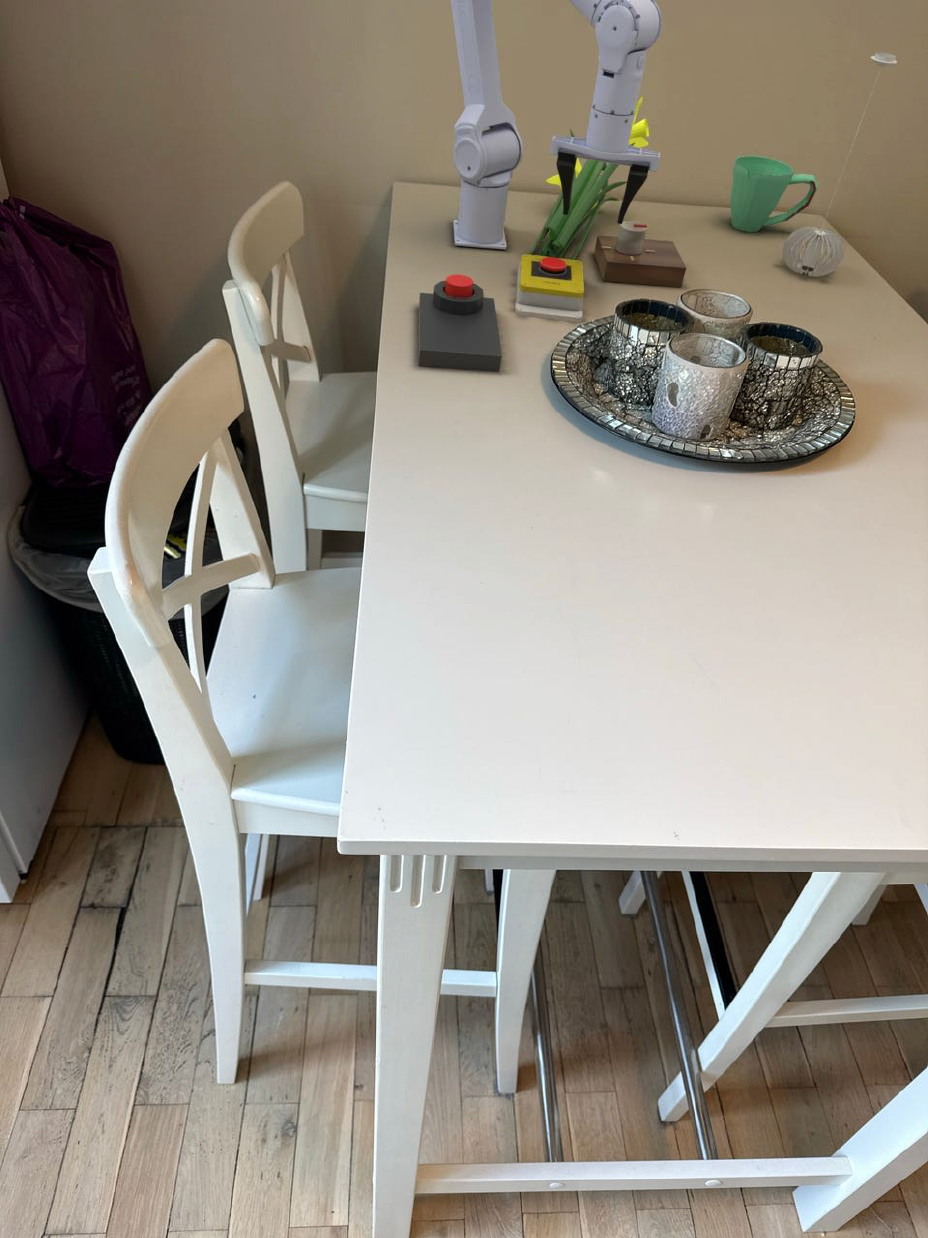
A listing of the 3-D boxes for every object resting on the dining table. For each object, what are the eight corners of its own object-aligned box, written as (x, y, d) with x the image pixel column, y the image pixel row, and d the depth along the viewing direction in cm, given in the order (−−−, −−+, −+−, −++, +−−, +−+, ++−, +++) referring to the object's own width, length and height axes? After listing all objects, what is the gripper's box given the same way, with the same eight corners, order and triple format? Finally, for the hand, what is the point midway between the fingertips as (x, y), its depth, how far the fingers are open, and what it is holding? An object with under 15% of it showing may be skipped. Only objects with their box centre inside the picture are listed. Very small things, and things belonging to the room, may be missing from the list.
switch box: (418, 305, 120) (420, 276, 117) (491, 310, 121) (495, 282, 118) (418, 366, 108) (420, 335, 105) (499, 371, 109) (503, 341, 106)
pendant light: (828, 262, 145) (910, 51, 125) (840, 285, 139) (928, 67, 118) (773, 255, 145) (844, 42, 125) (782, 278, 139) (859, 57, 118)
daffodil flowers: (481, 250, 137) (557, 133, 154) (552, 312, 141) (618, 190, 158) (541, 176, 123) (617, 55, 140) (618, 247, 127) (683, 121, 144)
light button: (444, 286, 117) (445, 273, 115) (471, 288, 117) (472, 275, 116) (445, 298, 114) (446, 284, 113) (472, 300, 114) (474, 287, 113)
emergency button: (584, 248, 128) (588, 292, 118) (579, 278, 131) (582, 323, 121) (521, 240, 128) (519, 283, 117) (517, 270, 131) (514, 314, 120)
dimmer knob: (617, 253, 132) (622, 227, 129) (613, 243, 134) (618, 217, 132) (643, 255, 132) (649, 229, 129) (638, 245, 135) (644, 219, 132)
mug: (720, 233, 150) (738, 170, 143) (714, 212, 157) (731, 152, 150) (805, 244, 150) (828, 182, 143) (796, 223, 157) (817, 163, 150)
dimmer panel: (593, 254, 138) (597, 233, 136) (667, 260, 140) (673, 240, 137) (602, 281, 131) (606, 260, 129) (681, 287, 132) (686, 266, 130)
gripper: (669, 109, 117) (645, 215, 126) (561, 92, 118) (545, 198, 127) (668, 124, 112) (643, 233, 121) (555, 106, 113) (539, 215, 122)
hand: (592, 216), depth 124 cm, fingers open, 7 cm apart
